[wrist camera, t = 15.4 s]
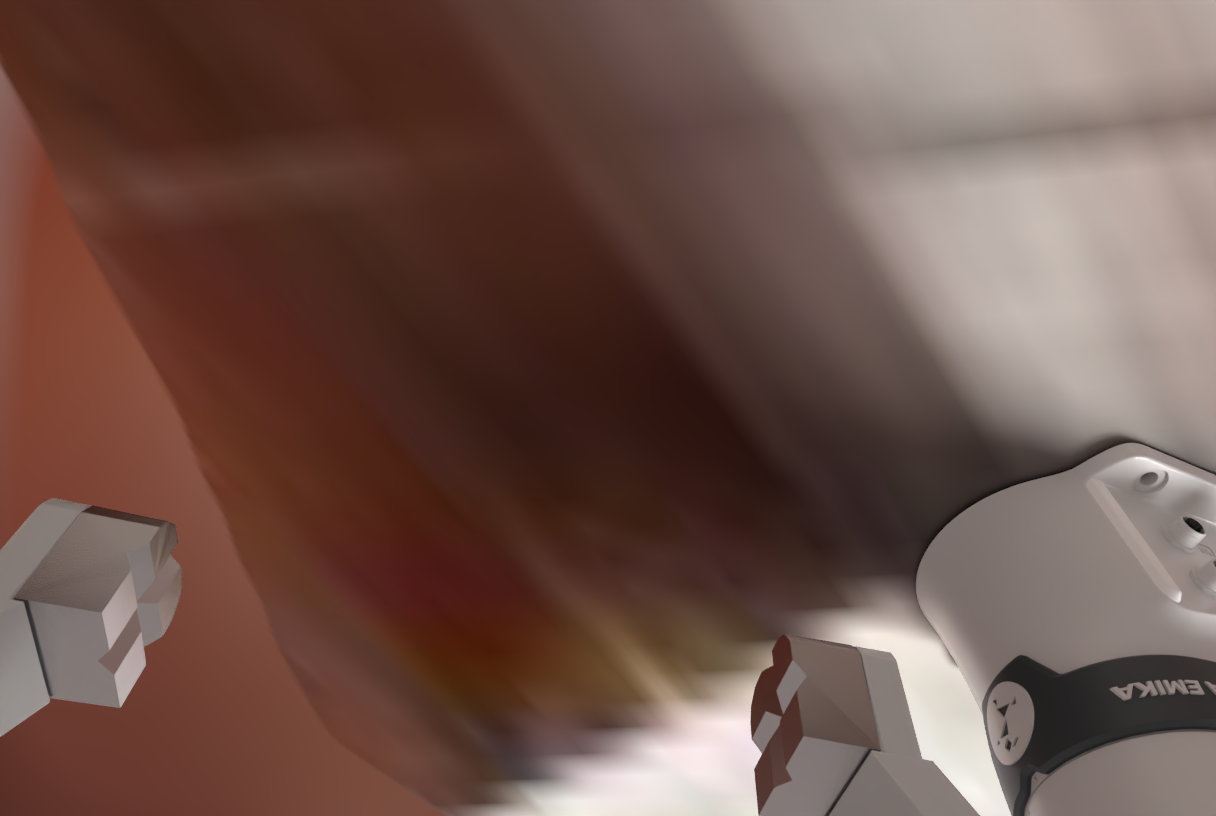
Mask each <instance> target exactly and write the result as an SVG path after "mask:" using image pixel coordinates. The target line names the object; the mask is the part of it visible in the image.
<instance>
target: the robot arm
mask: <svg viewBox="0 0 1216 816" xmlns="http://www.w3.org/2000/svg"><path fill="white" fill-rule="evenodd" d="M1148 472H1149V473H1148ZM1146 473H1148V474H1146ZM1144 474H1146V475H1144ZM1142 475H1144V476H1142ZM177 543H178V539H177V533H176V526H175V524H173V523H171V522H168V521H164V520H159V519H154V518H149V517H144V516H140V515H135V514H130V513H126V512H120V511H116V510H111V509H106V508H102V507H97V506H90V505H85V504H80V503H75V502H70V501H65V500H60V499H55V498H52V499H50V500H48V501H46V502H44V503H42V504H41V505H39V506H38V507H37V508H36V510H35V511H34V512H33V513H32V514H31V515H30V517H29V518H28V519H27V520H26V521H25V522H24V523H23V525H22V526H21V527H20V528H19V529H18V530H17V532H16V533H15V534H14V535H13V536H12V537H11V539H10V540H9V541H8V542H7V543H6V544H5V545H4V547H3V548H2V549H1V550H0V737H1V736H2V735H3V734H5V733H6V732H8V731H9V730H11V729H12V728H14V727H15V726H16V725H18V724H19V723H21V722H22V721H24V720H25V719H26V718H28V717H29V716H31V715H32V714H34V713H35V712H37V711H38V710H39V709H41V708H42V707H44V706H45V705H47V704H48V703H49V702H50V698H54V699H61V700H68V701H75V702H83V703H89V704H96V705H104V706H111V707H118V708H121V706H122V704H123V702H124V701H125V699H126V697H127V696H128V694H129V692H130V691H131V689H132V687H133V686H134V684H135V682H136V681H137V679H138V677H139V675H140V674H141V672H142V670H143V669H144V667H145V665H146V661H145V654H144V646H147V645H148V644H150V643H152V642H153V641H155V640H157V639H159V638H160V637H162V636H163V634H164V632H165V631H166V629H167V627H168V626H169V624H170V622H171V620H172V618H173V616H174V613H175V610H176V607H177V604H178V601H179V598H180V593H181V584H182V574H181V566H180V565H179V564H178V563H177V562H176V561H175V560H174V559H173V558H172V557H171V553H172V551H173V550H174V548H175V547H176V545H177ZM916 594H917V599H918V602H919V605H920V608H921V610H922V612H923V614H924V615H925V617H926V618H927V620H928V621H929V622H930V624H931V625H932V626H933V628H934V629H935V630H936V632H937V633H938V635H939V636H940V638H941V639H942V641H943V642H944V644H945V645H946V647H947V649H948V650H949V652H950V654H951V655H952V657H953V659H954V660H955V662H956V664H957V666H958V668H959V669H960V671H961V673H962V675H963V677H964V679H965V681H966V682H967V684H968V686H969V688H970V690H971V692H972V694H973V696H974V698H975V700H976V702H977V704H978V706H979V708H980V710H981V712H982V714H983V718H984V724H985V730H986V735H987V739H988V744H989V748H990V752H991V757H992V760H993V764H994V767H995V770H996V773H997V776H998V779H999V782H1000V785H1001V788H1002V791H1003V793H1004V796H1005V799H1006V801H1007V804H1008V807H1009V809H1010V812H1011V815H1012V816H1216V475H1214V474H1212V473H1209V472H1207V471H1205V470H1202V469H1200V468H1197V467H1195V466H1193V465H1190V464H1188V463H1185V462H1183V461H1181V460H1178V459H1176V458H1173V457H1171V456H1169V455H1166V454H1164V453H1162V452H1159V451H1157V450H1154V449H1152V448H1150V447H1147V446H1145V445H1142V444H1138V443H1125V444H1121V445H1118V446H1115V447H1112V448H1110V449H1108V450H1106V451H1104V452H1102V453H1100V454H1098V455H1096V456H1094V457H1092V458H1090V459H1089V460H1087V461H1085V462H1083V463H1082V464H1080V465H1078V466H1077V467H1075V468H1073V469H1071V470H1068V471H1065V472H1062V473H1059V474H1055V475H1052V476H1048V477H1043V478H1039V479H1035V480H1031V481H1027V482H1024V483H1021V484H1018V485H1015V486H1012V487H1009V488H1006V489H1004V490H1001V491H999V492H997V493H995V494H992V495H990V496H988V497H986V498H984V499H983V500H981V501H979V502H977V503H976V504H974V505H972V506H971V507H969V508H968V509H966V510H965V511H963V512H962V513H960V514H959V515H958V516H957V517H955V518H954V519H953V520H952V521H951V522H950V523H948V524H947V525H946V526H945V527H944V528H943V529H942V530H941V531H940V533H939V534H938V535H937V536H936V537H935V538H934V540H933V541H932V542H931V544H930V545H929V547H928V548H927V550H926V552H925V554H924V556H923V558H922V560H921V562H920V565H919V568H918V572H917V578H916ZM772 655H773V664H774V665H773V666H771V667H769V668H768V669H766V670H764V671H762V673H761V675H760V677H759V680H758V682H757V684H756V687H755V691H754V696H753V700H752V705H751V734H752V740H753V741H754V743H755V744H756V746H757V747H758V748H759V750H760V751H761V752H762V755H761V757H760V759H759V761H758V763H757V765H756V767H755V769H754V771H755V782H756V792H757V803H758V814H759V816H980V815H979V814H978V813H977V812H976V811H975V810H974V808H973V807H972V806H971V805H970V804H969V803H968V801H967V800H966V799H965V798H964V797H963V796H962V795H961V793H960V792H959V791H958V790H957V789H956V788H955V786H954V785H953V784H952V783H951V782H950V781H949V780H948V778H947V777H946V776H945V775H944V774H943V773H942V771H941V770H940V769H939V768H938V767H937V766H936V765H935V763H934V762H933V761H929V760H924V759H922V757H921V753H920V749H919V745H918V742H917V738H916V734H915V730H914V726H913V723H912V719H911V715H910V711H909V707H908V704H907V700H906V696H905V692H904V688H903V685H902V681H901V677H900V673H899V669H898V666H897V662H896V659H895V658H894V656H893V655H892V654H891V653H889V652H883V651H878V650H872V649H867V648H861V647H853V646H851V645H846V644H841V643H835V642H829V641H823V640H817V639H811V638H806V637H800V636H794V635H788V634H783V635H782V636H781V637H780V638H779V639H778V640H777V642H776V644H775V646H774V648H773V650H772Z"/></svg>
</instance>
